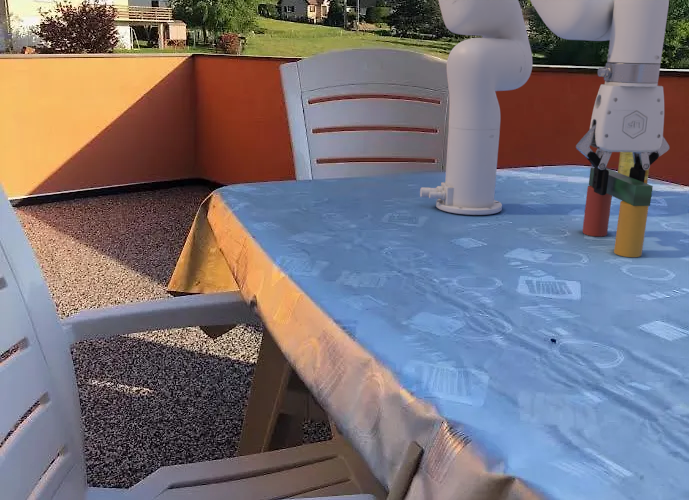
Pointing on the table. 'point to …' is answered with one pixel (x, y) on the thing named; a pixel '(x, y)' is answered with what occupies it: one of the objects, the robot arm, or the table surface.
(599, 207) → the red rod
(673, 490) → the table surface
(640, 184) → the green bar
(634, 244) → the yellow rod
